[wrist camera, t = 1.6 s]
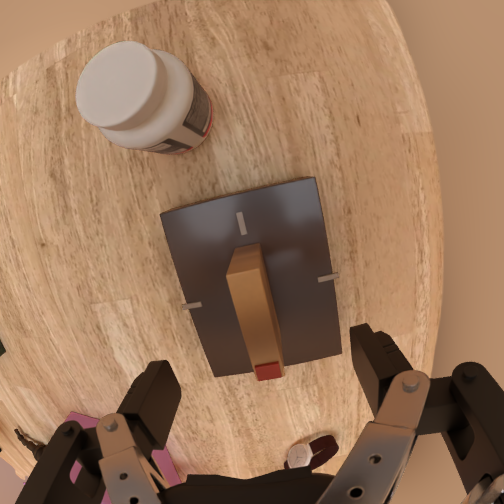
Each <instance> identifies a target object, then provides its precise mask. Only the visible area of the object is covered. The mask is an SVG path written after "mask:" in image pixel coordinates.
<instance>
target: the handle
mask: <svg viewBox="0 0 504 504" xmlns="http://www.w3.org/2000/svg"><path fill="white" fill-rule="evenodd" d="M226 279H227V282H228V286H229V289H230V293H231V296H232V300H233V303H234V307H235V310H236V314H237V317H238V320H239V324H240V327H241V331H242V334H243V337H244V341H245V344H246V347H247V351H248V354H249V357H250V361H251V364H252V367H253V370H254V374H255V377H256V380H257V381H263V380H269V379H275V378H281V377H283V376H284V375H285V372H284V362H283V353H282V343H281V334H280V328H279V324H278V319H277V315H276V311H275V306H274V302H273V298H272V293H271V289H270V285H269V280H268V276H267V272H266V267H265V263H264V259H263V255H262V250H261V246H260V243H256V244H252V245H247V246H243V247H238V248H235V250H234V253H233V256H232V259H231V262H230V265H229V268H228V271H227V274H226Z"/></svg>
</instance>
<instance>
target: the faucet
mask: <svg viewBox="0 0 504 504" xmlns="http://www.w3.org/2000/svg"><path fill="white" fill-rule="evenodd" d="M14 431H15V433H16V434H17V437H18V439H19V440H20V441H21V442H22V444H23V445H24V446H26V447H27V448H28V449H29V450H31V451H32V453H33V455H34V458H35V459H36V460H37V461H38V460H39V458H40V457H41V455H42V453H43V452H44V450H45V448H46V446H43V445H40V446H39V445H35V444H34V443H33V442H31V441H27V440H26V439H25V438H24V437H23V435H21V434H20V433H19V431H18V429H15V430H14Z"/></svg>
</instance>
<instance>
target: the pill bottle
mask: <svg viewBox="0 0 504 504" xmlns="http://www.w3.org/2000/svg"><path fill="white" fill-rule="evenodd" d="M76 104H77V108H78V110H79V112H80V114H81V116H82V117H83V118H84V119H85V120H86V121H87V122H88V123H90V124H92V125H94V126H97V127H98V128H99V130H100V131H101V133H102V134H103V135H104V136H105V137H106V138H107V139H108V140H109V141H111V142H112V143H114V144H116V145H118V146H121V147H124V148H127V149H135V150H142V151H148V152H156V153H161V154H169V155H176V154H183V153H186V152H189V151H191V150H193V149H194V148H196V147H197V146H199V145H200V144H201V143H202V142H203V141H204V140H205V138H206V137H207V135H208V134H209V132H210V130H211V128H212V124H213V119H214V111H213V106H212V103H211V100H210V98H209V97H208V95H207V93H206V92H205V91H204V89H203V88H202V87H201V85H200V84H199V83H198V81H197V80H196V79H195V77H194V76H193V75H192V73H191V72H190V71H189V69H188V68H187V67H186V65H185V64H184V63H183V62H182V61H181V60H180V59H179V58H177V57H176V56H174V55H173V54H171V53H168V52H166V51H162V50H156V49H149V48H148V47H147V46H145V45H144V44H142V43H139V42H135V41H121V42H117V43H114V44H111V45H109V46H107V47H105V48H104V49H102V50H101V51H99V52H98V53H97V54H96V55H95V56H94V57H93V58H92V59H91V60H90V61H89V62H88V63H87V65H86V66H85V68H84V69H83V71H82V73H81V75H80V77H79V80H78V83H77V88H76Z"/></svg>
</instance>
